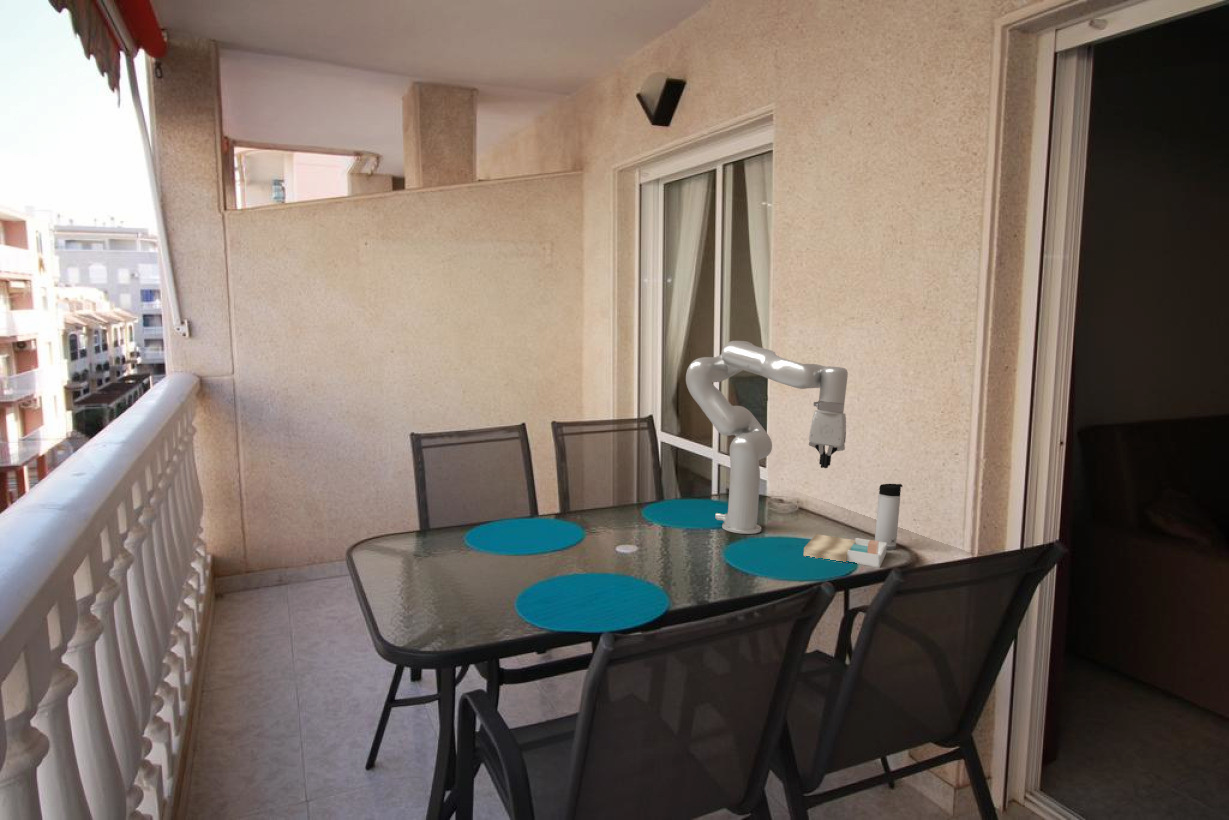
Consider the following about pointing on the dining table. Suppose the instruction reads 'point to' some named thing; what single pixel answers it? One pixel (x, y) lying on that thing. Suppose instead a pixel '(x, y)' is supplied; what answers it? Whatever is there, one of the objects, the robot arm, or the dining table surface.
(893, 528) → the travel mug
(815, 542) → the board
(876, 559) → the tray
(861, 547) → the tile teal
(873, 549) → the tile terracotta
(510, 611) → the dining table surface
